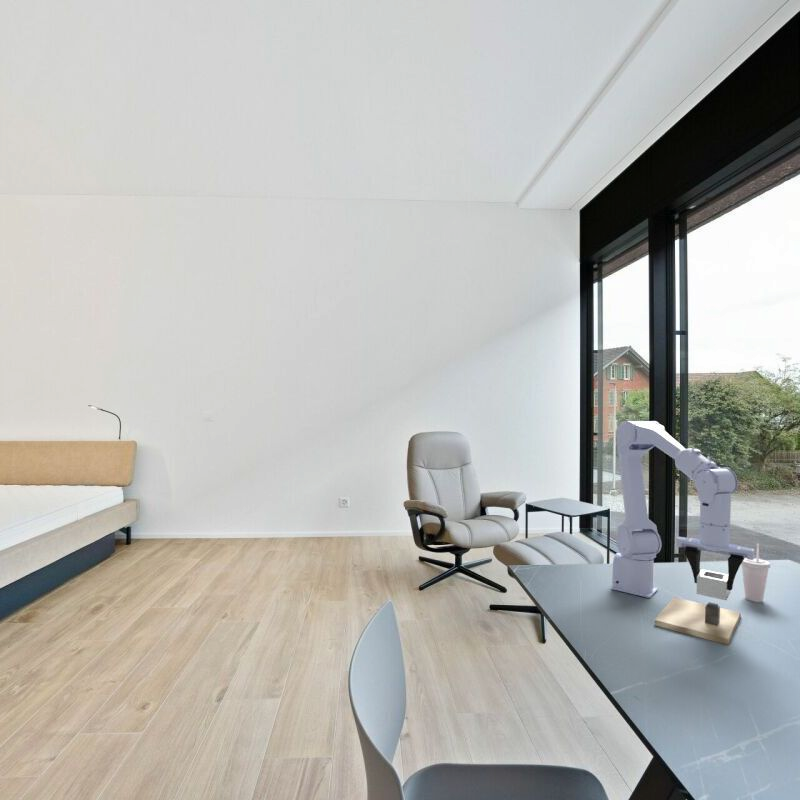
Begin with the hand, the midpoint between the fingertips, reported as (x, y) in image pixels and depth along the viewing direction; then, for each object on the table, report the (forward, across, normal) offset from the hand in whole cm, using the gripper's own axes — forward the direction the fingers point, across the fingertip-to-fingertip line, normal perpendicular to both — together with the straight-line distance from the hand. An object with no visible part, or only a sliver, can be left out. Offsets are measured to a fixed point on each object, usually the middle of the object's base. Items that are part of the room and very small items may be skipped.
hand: (713, 585), depth 117 cm
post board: (+9, -3, +2) cm, 10 cm away
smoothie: (+10, +5, +27) cm, 29 cm away
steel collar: (+2, 0, 0) cm, 2 cm away
